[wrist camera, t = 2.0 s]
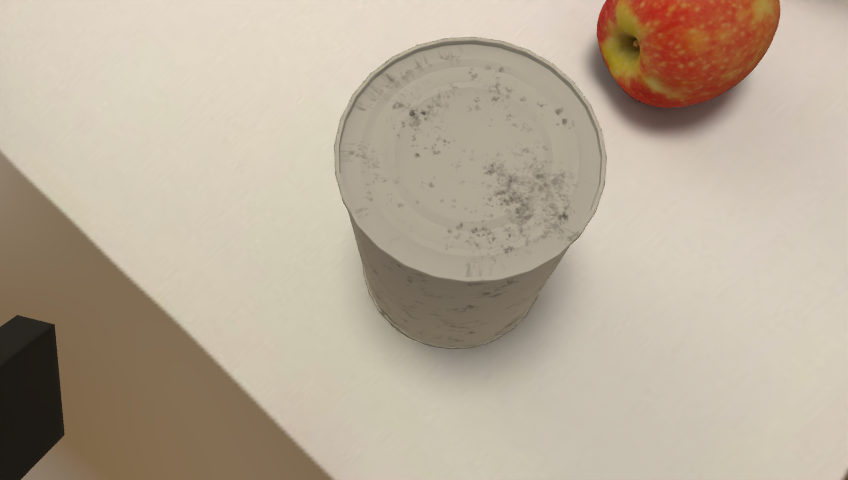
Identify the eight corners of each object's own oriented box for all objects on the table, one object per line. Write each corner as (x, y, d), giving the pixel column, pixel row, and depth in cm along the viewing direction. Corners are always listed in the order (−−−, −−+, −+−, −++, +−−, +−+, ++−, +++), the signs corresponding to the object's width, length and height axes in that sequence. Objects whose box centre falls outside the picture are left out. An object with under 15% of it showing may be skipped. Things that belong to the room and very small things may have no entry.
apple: (567, 42, 39) (602, -61, 32) (688, -3, 40) (750, -113, 33) (633, 152, 37) (688, 69, 29) (760, 101, 38) (844, 8, 30)
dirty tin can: (377, 364, 33) (354, 305, 21) (350, 191, 36) (317, 56, 24) (563, 330, 33) (641, 255, 22) (520, 163, 36) (568, 19, 25)
